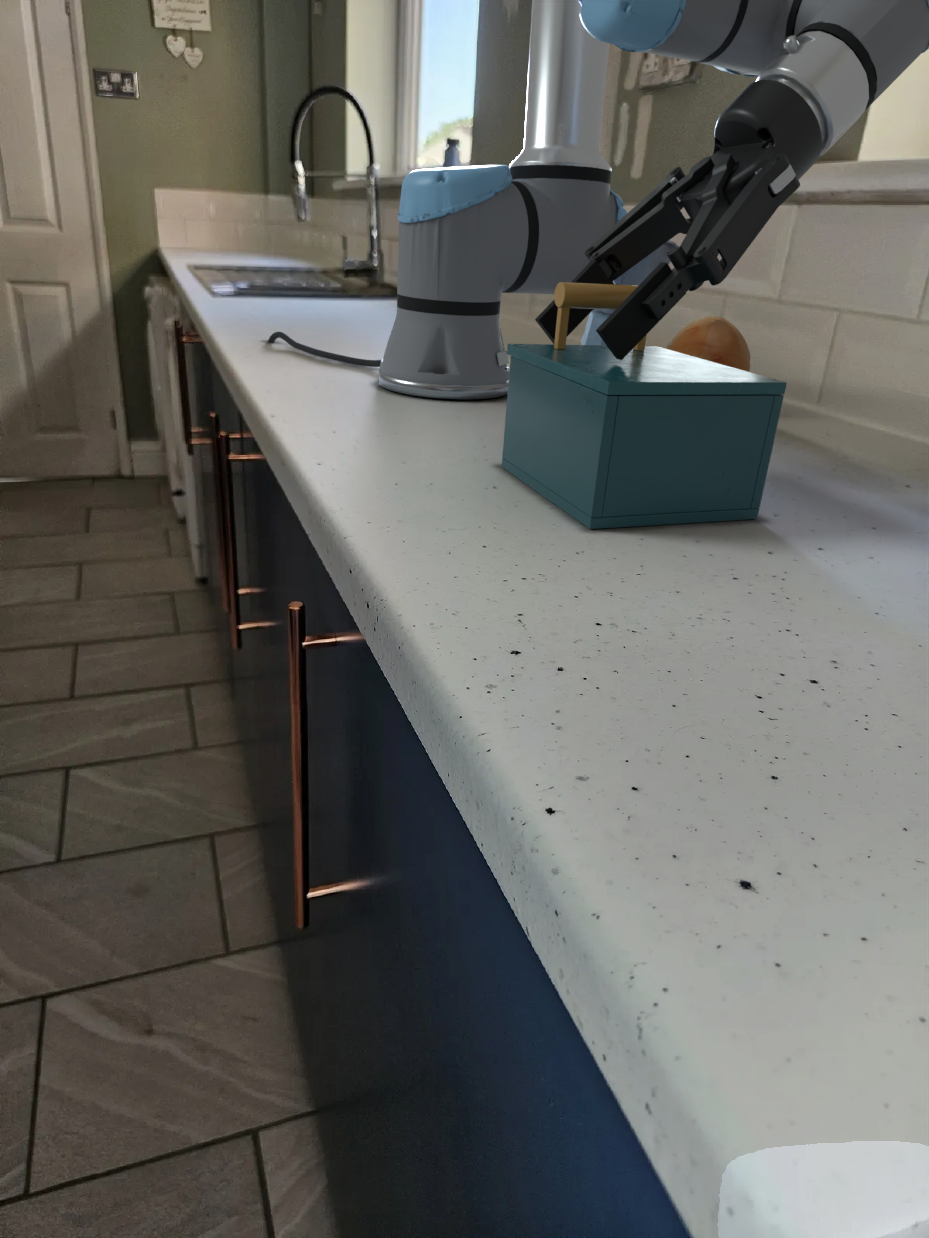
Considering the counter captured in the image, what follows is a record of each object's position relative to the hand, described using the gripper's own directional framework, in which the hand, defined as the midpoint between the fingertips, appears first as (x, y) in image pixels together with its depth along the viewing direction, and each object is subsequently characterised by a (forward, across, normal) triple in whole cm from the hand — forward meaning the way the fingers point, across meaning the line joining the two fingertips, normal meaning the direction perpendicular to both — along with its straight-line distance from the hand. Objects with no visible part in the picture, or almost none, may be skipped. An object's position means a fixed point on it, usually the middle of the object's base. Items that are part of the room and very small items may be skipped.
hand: (575, 338), depth 65 cm
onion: (-15, -26, +28) cm, 41 cm away
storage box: (+6, +4, +10) cm, 12 cm away
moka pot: (-15, -47, +27) cm, 56 cm away
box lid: (-1, +4, +3) cm, 5 cm away
